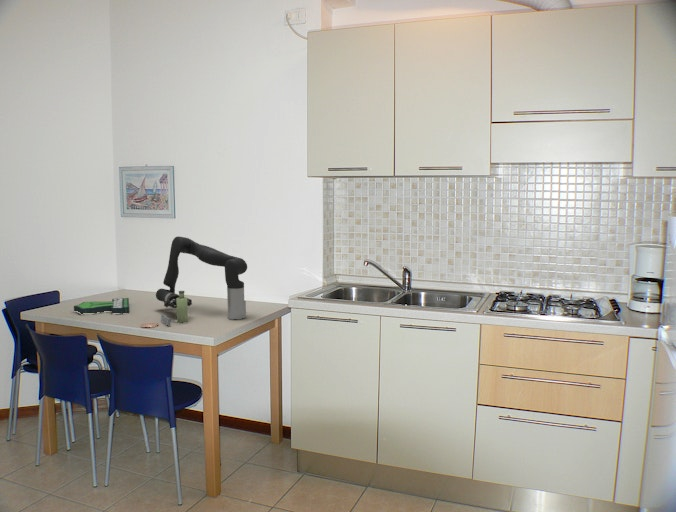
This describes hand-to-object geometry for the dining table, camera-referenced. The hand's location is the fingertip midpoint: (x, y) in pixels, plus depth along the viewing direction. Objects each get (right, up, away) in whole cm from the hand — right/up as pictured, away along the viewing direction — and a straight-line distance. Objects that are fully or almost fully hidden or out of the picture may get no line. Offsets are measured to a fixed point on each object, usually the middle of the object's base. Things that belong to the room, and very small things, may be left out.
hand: (181, 305), depth 305 cm
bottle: (0, -9, 0) cm, 9 cm away
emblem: (-55, -6, +28) cm, 62 cm away
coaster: (-15, -10, -9) cm, 20 cm away
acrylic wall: (-7, -10, -4) cm, 13 cm away
